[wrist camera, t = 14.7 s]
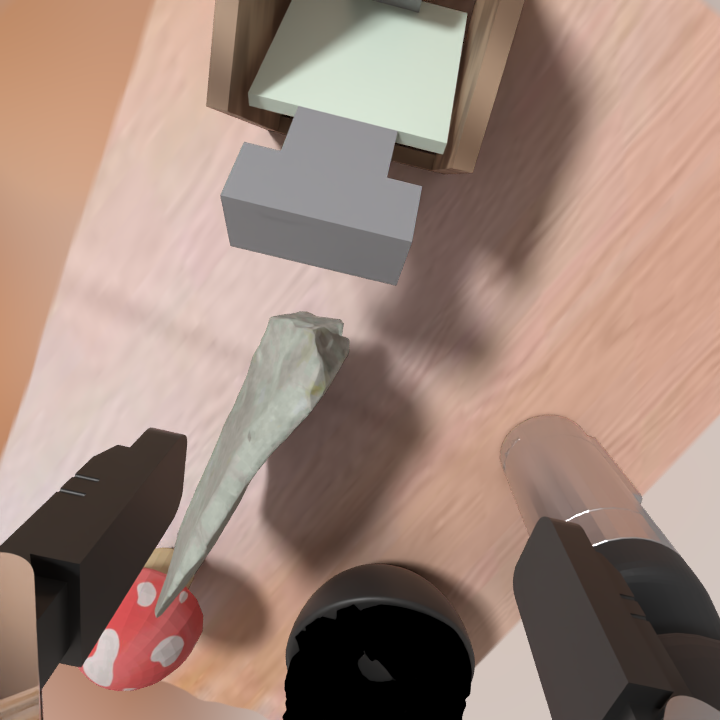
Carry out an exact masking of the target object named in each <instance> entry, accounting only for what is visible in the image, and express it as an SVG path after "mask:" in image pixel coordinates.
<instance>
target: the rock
mask: <svg viewBox="0 0 720 720" xmlns="http://www.w3.org/2000/svg"><path fill="white" fill-rule="evenodd" d="M343 324H344V323H343V322H342V320H340V319H333V318H326V317H318V316H315V315H313V314H311V313H309V312H297V313H292V314H284V315H278V316H273V317H271V318H270V319H269V322H268V326H267V329H266V331H265V333H264V336H263V337H262V339H261V343H260V345H259V347H258V348H257V350H256V352H255V353H254V355H253V358H252V360H251V364H250V367H249V370H248V374H247V376H246V379H245V381H244V383H243V386H242V388H241V390H240V392H239V395H238V397H237V399H236V402H235V404H234V406H233V409H232V411H231V412H230V414H229V416H228V418H227V420H226V422H225V424H224V426H223V429H222V432H221V434H220V437H219V439H218V442H217V444H216V446H215V448H214V451H213V453H212V456H211V458H210V460H209V462H208V465H207V467H206V469H205V471H204V473H203V475H202V478H201V480H200V482H199V484H198V486H197V488H196V491H195V493H194V496H193V498H192V500H191V502H190V505H189V507H188V509H187V512H186V514H185V516H184V519H183V522H182V524H181V526H180V529H179V532H178V536H177V540H176V544H175V548H174V552H173V556H172V559H171V563H170V566H169V569H168V573H167V576H166V579H165V582H164V584H163V587H162V590H161V593H160V596H159V598H158V601H157V604H156V607H155V616H156V618H158V617H159V616H161V615H162V614H163V613H164V611H165V610H166V609H167V608H168V607H169V606H170V604H171V603H172V602H173V601H174V599H175V598H176V597H177V596H178V594H179V593H180V592H181V591H182V590H183V589H184V587H185V586H186V585H187V584H188V582H189V581H190V580H191V578H192V577H193V576H194V574H195V573H196V571H197V570H198V569H199V567H200V566H201V564H202V563H203V561H204V559H205V558H206V556H207V555H208V553H209V552H210V551H211V549H212V547H213V546H214V545H215V543H216V541H217V540H218V538H219V536H220V535H221V533H222V531H223V529H224V528H225V526H226V525H227V523H228V521H229V520H230V518H231V516H232V514H233V513H234V511H235V510H236V508H237V506H238V504H239V503H240V501H241V499H242V497H243V495H244V493H245V491H246V489H247V486H248V485H249V483H250V481H251V480H252V478H253V477H254V476H255V474H256V473H257V471H258V470H259V469H260V467H261V466H262V465H263V464H264V463H265V461H266V460H267V459H268V457H269V456H270V455H271V454H272V453H273V452H274V451H275V450H276V449H277V448H278V447H279V446H280V445H281V444H282V443H283V442H284V441H285V440H286V439H287V438H288V436H289V435H290V434H291V433H292V432H293V431H294V429H295V428H296V427H297V426H298V425H299V424H300V423H301V422H302V421H303V420H304V419H305V418H306V417H307V416H308V415H309V414H310V412H311V411H312V410H313V409H314V407H315V406H316V405H317V403H318V402H319V401H320V399H321V398H322V397H323V395H324V394H325V393H326V391H327V390H328V388H329V387H330V385H331V383H332V382H333V380H334V378H335V376H336V374H337V373H338V371H339V370H340V368H341V366H342V364H343V362H344V360H345V359H346V357H347V356H348V354H349V339H348V338H346V337H343V336H342V331H343Z"/></svg>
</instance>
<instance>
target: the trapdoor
mask: <svg viewBox="0 0 720 720" xmlns="http://www.w3.org/2000/svg"><path fill="white" fill-rule="evenodd" d="M466 19H467V13H465V12H461V11H458V10H454V9H450V8H446V7H442V6H439V5H435V4H431V3H427V2H424V1H422V2H421V6H420V11H419V13H418V12H415V11H411V10H407V9H403V8H399V7H396V6H392V5H388V4H384V3H380V2H377V1H373V0H292V1H291V3H290V5H289V7H288V9H287V11H286V14H285V16H284V18H283V20H282V22H281V24H280V26H279V28H278V31H277V33H276V35H275V37H274V39H273V41H272V43H271V45H270V47H269V50H268V52H267V54H266V56H265V58H264V60H263V62H262V64H261V66H260V69H259V71H258V73H257V75H256V77H255V79H254V81H253V83H252V86H251V88H250V90H249V92H248V98H249V106H253V107H257V108H261V109H265V110H269V111H273V112H277V113H281V114H285V115H289V116H293V117H294V118H293V121H292V123H291V126H290V128H289V131H288V134H287V136H286V139H285V141H284V144H283V146H282V149H281V151H278V150H274V149H270V148H266V147H262V146H258V145H254V144H250V143H246V142H244V143H243V146H242V148H241V150H240V152H239V155H238V157H237V159H236V161H235V163H234V166H233V168H232V170H231V172H230V175H229V177H228V179H227V181H226V184H225V186H224V188H223V190H222V193H221V195H220V196H221V201H222V206H223V211H224V216H225V221H226V226H227V231H228V236H229V241H230V246H233V247H237V248H241V249H245V250H250V251H254V252H258V253H262V254H266V255H270V256H275V257H279V258H283V259H287V260H291V261H295V262H299V263H304V264H308V265H312V266H316V267H320V268H324V269H329V270H333V271H337V272H341V273H345V274H349V275H354V276H358V277H362V278H366V279H370V280H374V281H379V282H383V283H387V284H391V285H395V286H396V285H397V282H398V280H399V277H400V274H401V271H402V268H403V266H404V263H405V260H406V257H407V255H408V252H409V249H410V246H411V243H412V239H413V234H414V228H415V223H416V217H417V212H418V206H419V201H420V195H421V190H422V186H419V185H415V184H411V183H407V182H403V181H399V180H395V179H391V178H387V175H388V171H389V167H390V162H391V158H392V154H393V149H394V145H395V142H396V143H400V144H404V145H408V146H412V147H416V148H420V149H423V150H427V151H431V152H435V153H439V154H443V153H444V150H445V147H446V144H447V139H448V133H449V127H450V120H451V114H452V108H453V101H454V95H455V89H456V82H457V76H458V70H459V64H460V57H461V51H462V45H463V38H464V32H465V26H466Z"/></svg>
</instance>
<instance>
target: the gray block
mask: <svg viewBox="0 0 720 720" xmlns="http://www.w3.org/2000/svg"><path fill="white" fill-rule="evenodd" d="M373 1H377V2H380V3H384V4H388V5H392V6H396V7H399V8H403V9H407V10H411V11H415V12H418V13H419V11H420V6H421V2H422V0H373Z"/></svg>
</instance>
